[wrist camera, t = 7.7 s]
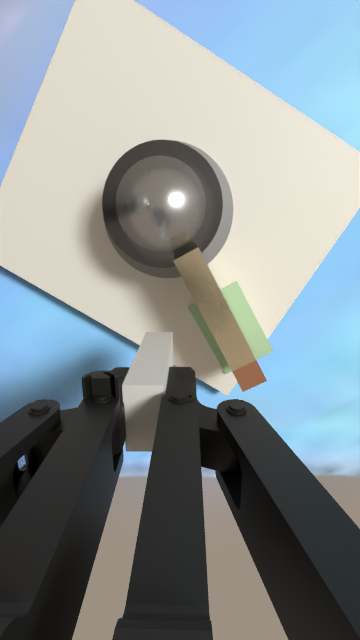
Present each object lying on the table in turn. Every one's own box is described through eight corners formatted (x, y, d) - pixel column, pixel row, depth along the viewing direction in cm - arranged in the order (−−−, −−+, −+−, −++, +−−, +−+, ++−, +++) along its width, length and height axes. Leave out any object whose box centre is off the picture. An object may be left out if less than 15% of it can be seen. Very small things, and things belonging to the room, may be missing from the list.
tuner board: (-15, 250, 24) (-28, 250, 23) (94, -15, 20) (86, -34, 18) (234, 393, 26) (236, 401, 24) (385, 180, 21) (398, 176, 20)
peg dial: (96, 190, 21) (71, 176, 17) (188, 133, 20) (186, 103, 16) (202, 379, 24) (203, 409, 20) (287, 339, 23) (308, 361, 18)
